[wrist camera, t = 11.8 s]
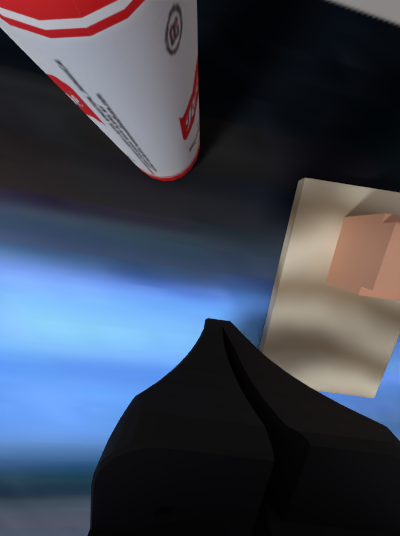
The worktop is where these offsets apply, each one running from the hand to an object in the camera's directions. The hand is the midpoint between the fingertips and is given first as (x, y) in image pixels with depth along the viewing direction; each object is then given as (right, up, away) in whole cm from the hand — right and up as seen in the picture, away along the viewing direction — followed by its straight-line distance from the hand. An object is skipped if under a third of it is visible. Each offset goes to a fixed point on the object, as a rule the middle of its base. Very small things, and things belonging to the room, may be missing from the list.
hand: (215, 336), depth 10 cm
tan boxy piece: (+15, +5, +8) cm, 18 cm away
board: (+14, 0, +10) cm, 18 cm away
